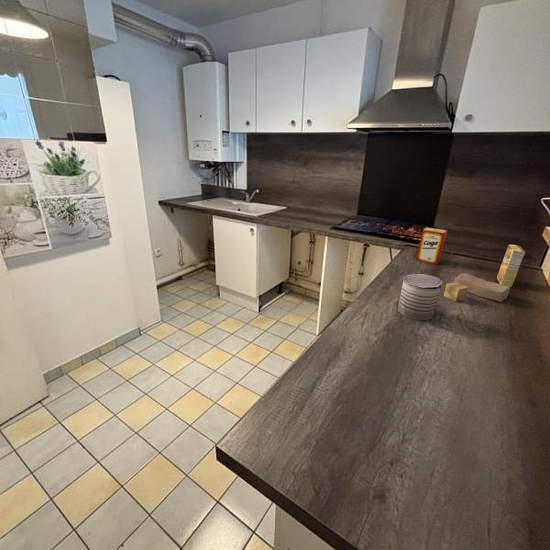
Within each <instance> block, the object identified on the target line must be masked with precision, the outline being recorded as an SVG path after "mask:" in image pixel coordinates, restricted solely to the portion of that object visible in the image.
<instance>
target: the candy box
mask: <svg viewBox="0 0 550 550" xmlns="http://www.w3.org/2000/svg"><path fill="white" fill-rule="evenodd" d="M525 255H526V250H525V249H523V247H522V246H521V245H516V244H508V245H507V248H506V251H505V254H504V257H503V260H502V261H501V265H500V268H499V271H498V273H497V276H496V280H497V281H498V284H501V285H503V286H508V287H510V288H513V285H514V283H515V280H516V277H517V275H518V272H519V270H520V268H521V265H522V262H523V259H524V257H525Z"/></svg>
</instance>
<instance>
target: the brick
mask: <svg viewBox="0 0 550 550" xmlns="http://www.w3.org/2000/svg"><path fill="white" fill-rule="evenodd" d="M454 282H457V283H460V284H462V285H464V286H467V287H469V288H468V291H467V293H469V294H472V295H475V296H476V297H477V296H478V297H481V298H485V299H488V300H493V301H496V302H498V303H503V302H504V301H505V300H507V298H508V296H509V294H510V290H511V287H508V286H503V285H501V284H500V283H499V282H498V283H497V282H493V281H487V280H485V279H483V278H480V277H477V276H475V275H472V274H469V273H463V272H462V273H461V274H459V275H457V276H456V277H455V279H454V281H453V283H454Z"/></svg>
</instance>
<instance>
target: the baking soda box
mask: <svg viewBox="0 0 550 550" xmlns="http://www.w3.org/2000/svg"><path fill="white" fill-rule="evenodd" d="M447 233H448V230H446V229H440V228H432V227H425V228H423V229H422V232H421V235H420V239H419V245H418V249H417V254H416V259H415V260H417V261H416V262H421V261H422V263H426V262H427V264H430V263H431V264H430V265H435V264H436V266H437V265H438V264H439V263H440V261H441V258H442V255H443V250H444V245H445V241H446V237H447Z"/></svg>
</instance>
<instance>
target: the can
mask: <svg viewBox="0 0 550 550" xmlns="http://www.w3.org/2000/svg"><path fill="white" fill-rule="evenodd" d="M401 279H402V280H403V281H402V286H401V291H400V296H399V301H398V306H397V311H398V312H399V313H400V314H401V315H402V316H404V317H407V318H409V319H412V320H415V321H416V320H417V321H428V320H431V319H433V318H434V315H435V311H436V308H437V305H438V304H437V303H438V300H439V297H440V293H441V289H442V285H443V284H444V283H445V282H444V281H442V279H440V278H439V277H437V276H433V275H428V274H423V273H420V274H419V273H417V274H416V273H413V274H407V275H405V276H404V277H402V278H401Z"/></svg>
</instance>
